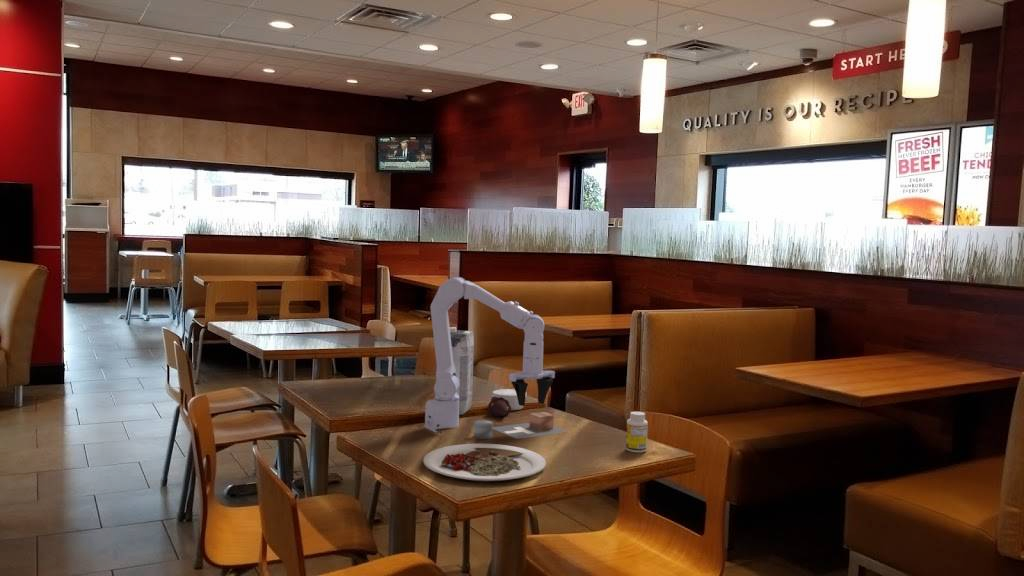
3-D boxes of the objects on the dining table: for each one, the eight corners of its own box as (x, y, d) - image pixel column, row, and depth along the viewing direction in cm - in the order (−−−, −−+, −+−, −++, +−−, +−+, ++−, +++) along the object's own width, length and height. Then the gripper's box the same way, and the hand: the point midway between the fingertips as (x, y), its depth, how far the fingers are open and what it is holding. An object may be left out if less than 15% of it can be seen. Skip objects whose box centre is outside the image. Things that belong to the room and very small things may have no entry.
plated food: (569, 477, 188) (570, 463, 187) (455, 493, 173) (456, 478, 172) (507, 445, 213) (508, 433, 213) (404, 458, 199) (404, 445, 198)
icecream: (520, 402, 238) (505, 396, 252) (498, 397, 236) (483, 391, 250) (515, 425, 237) (499, 418, 251) (492, 420, 235) (478, 413, 249)
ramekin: (487, 405, 263) (487, 389, 262) (517, 403, 267) (518, 388, 267) (499, 412, 252) (500, 396, 252) (531, 410, 257) (532, 394, 256)
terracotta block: (539, 430, 226) (539, 417, 225) (529, 426, 230) (529, 413, 230) (553, 429, 228) (553, 415, 228) (543, 425, 232) (543, 411, 232)
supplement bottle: (628, 446, 216) (630, 409, 215) (648, 449, 213) (650, 412, 213) (623, 451, 210) (624, 413, 210) (643, 454, 208) (645, 416, 207)
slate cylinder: (479, 443, 214) (480, 425, 213) (470, 439, 218) (471, 421, 218) (495, 441, 216) (496, 423, 216) (486, 437, 221) (486, 419, 220)
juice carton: (473, 409, 255) (476, 326, 253) (463, 416, 245) (466, 330, 243) (447, 407, 257) (450, 325, 255) (437, 413, 247) (439, 328, 245)
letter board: (516, 442, 216) (516, 438, 216) (489, 430, 228) (489, 427, 228) (568, 435, 226) (568, 431, 226) (540, 424, 237) (540, 421, 237)
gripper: (519, 361, 218) (518, 409, 219) (561, 358, 226) (559, 404, 227) (506, 357, 224) (504, 404, 225) (547, 354, 232) (545, 399, 233)
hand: (531, 404), depth 226 cm, fingers open, 6 cm apart
